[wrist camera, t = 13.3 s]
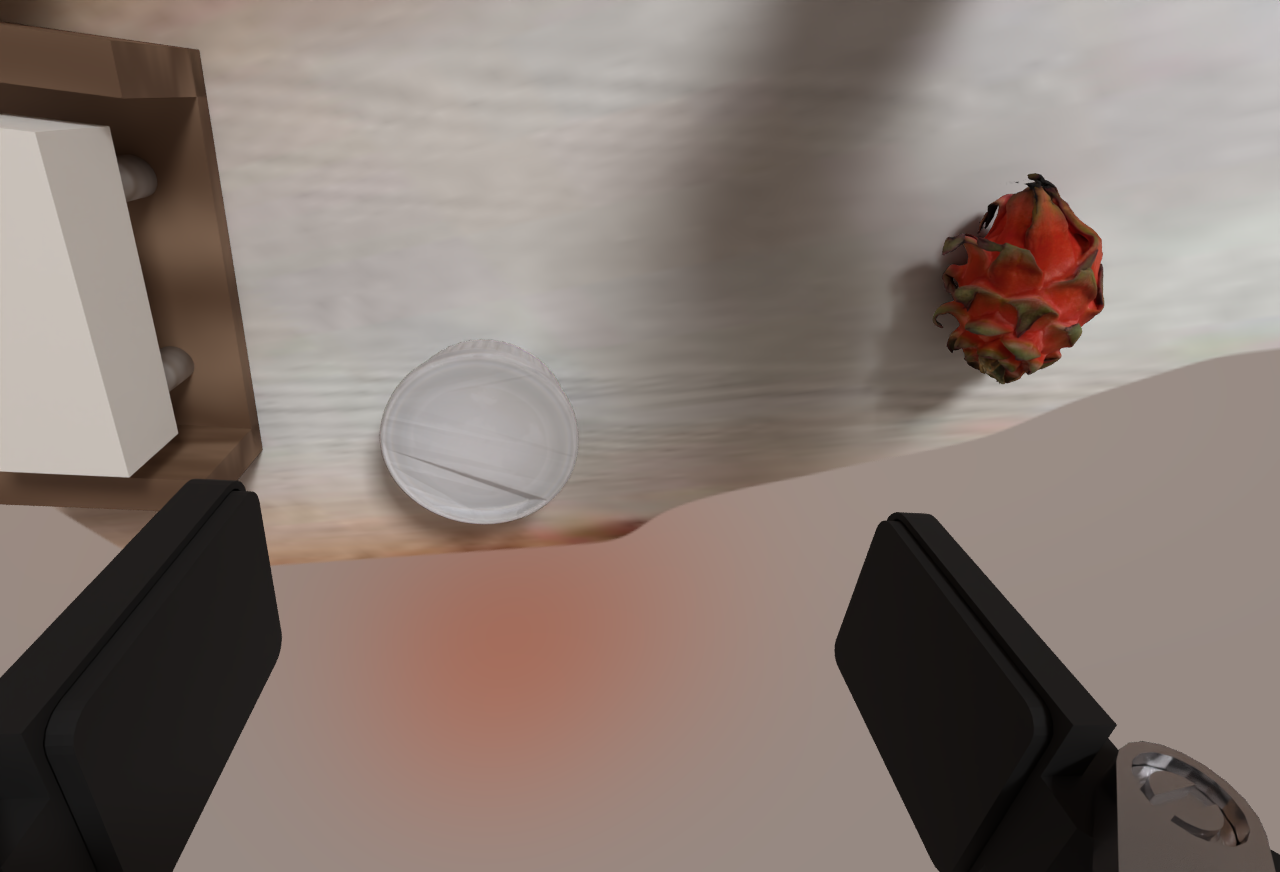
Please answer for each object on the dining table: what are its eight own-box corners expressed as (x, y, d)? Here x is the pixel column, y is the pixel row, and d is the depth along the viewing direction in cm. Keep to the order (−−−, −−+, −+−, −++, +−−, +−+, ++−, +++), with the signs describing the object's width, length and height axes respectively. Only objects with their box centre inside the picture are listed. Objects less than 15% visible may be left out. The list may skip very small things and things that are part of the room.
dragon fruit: (937, 362, 45) (959, 178, 41) (1083, 373, 41) (1123, 169, 37) (918, 394, 38) (941, 177, 34) (1090, 412, 34) (1141, 167, 30)
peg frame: (-41, 15, 29) (-200, -4, 23) (199, 49, 31) (110, 40, 25) (86, 439, 39) (-1, 504, 33) (262, 449, 41) (210, 512, 35)
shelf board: (-52, 106, 27) (-157, 109, 23) (109, 126, 28) (34, 132, 24) (52, 426, 34) (-15, 470, 30) (178, 433, 35) (129, 477, 31)
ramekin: (425, 492, 44) (409, 539, 39) (375, 337, 39) (349, 371, 34) (588, 467, 44) (592, 511, 40) (561, 311, 39) (561, 340, 34)
